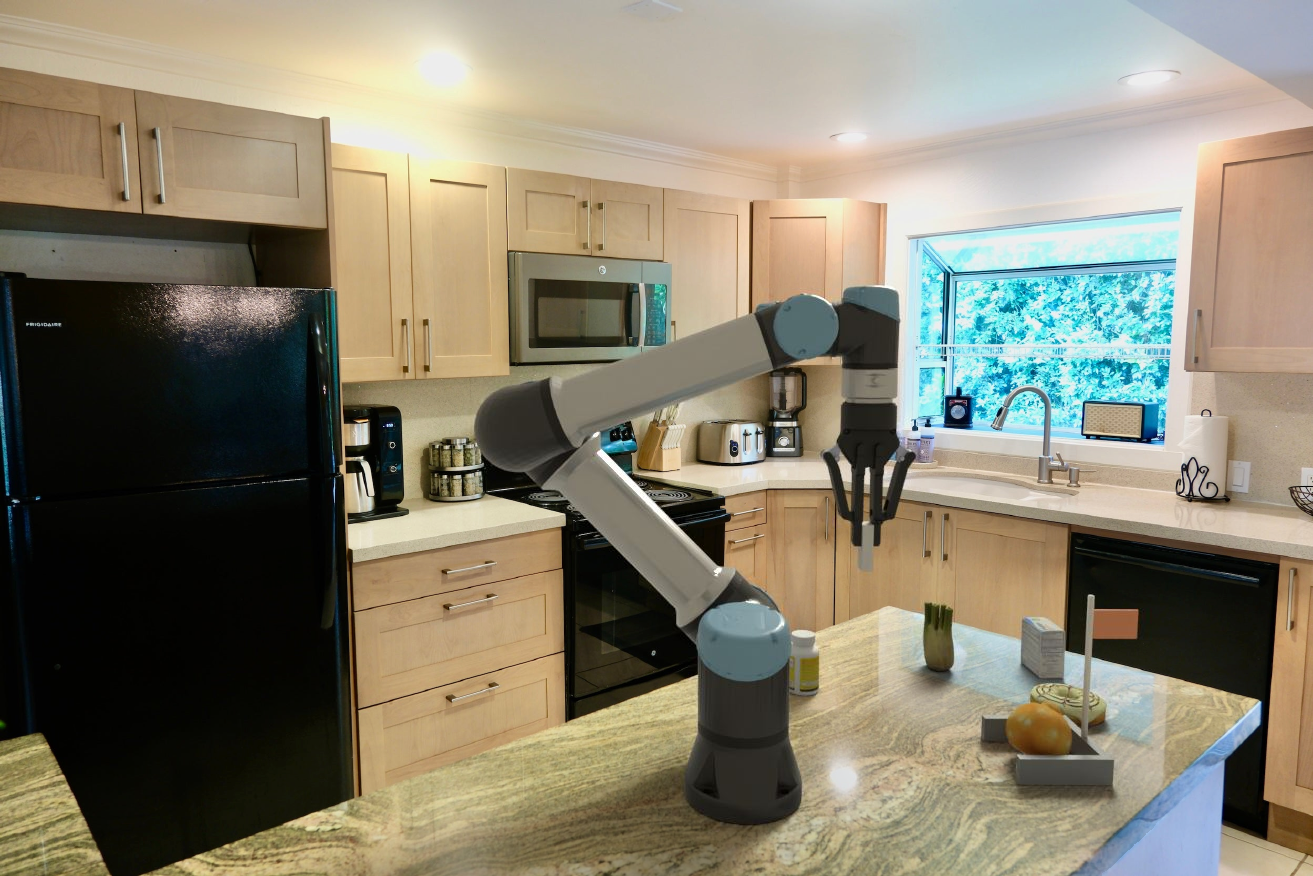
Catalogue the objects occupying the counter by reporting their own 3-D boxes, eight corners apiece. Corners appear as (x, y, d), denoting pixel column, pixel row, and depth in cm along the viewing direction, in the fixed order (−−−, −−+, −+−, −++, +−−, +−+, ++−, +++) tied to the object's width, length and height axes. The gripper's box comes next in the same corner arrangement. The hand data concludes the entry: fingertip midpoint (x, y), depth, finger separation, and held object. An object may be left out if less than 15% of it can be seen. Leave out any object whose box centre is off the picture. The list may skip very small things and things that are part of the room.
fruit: (1043, 744, 120) (1045, 691, 119) (1084, 772, 112) (1087, 715, 112) (993, 751, 118) (995, 697, 118) (1031, 779, 111) (1034, 721, 110)
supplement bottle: (823, 688, 141) (824, 632, 140) (811, 699, 136) (812, 641, 135) (793, 681, 144) (794, 626, 143) (781, 692, 139) (781, 635, 138)
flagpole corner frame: (1019, 784, 109) (1026, 610, 107) (981, 737, 122) (987, 582, 120) (1157, 785, 109) (1168, 610, 106) (1104, 738, 122) (1112, 582, 120)
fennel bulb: (918, 663, 152) (920, 599, 151) (944, 661, 153) (946, 598, 151) (932, 675, 146) (934, 608, 145) (959, 673, 147) (961, 607, 146)
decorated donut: (1100, 736, 123) (1101, 712, 123) (1022, 718, 129) (1023, 695, 129) (1110, 712, 131) (1111, 689, 131) (1037, 696, 138) (1038, 674, 137)
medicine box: (1064, 679, 144) (1066, 631, 143) (1038, 679, 144) (1040, 631, 143) (1044, 662, 152) (1046, 616, 151) (1019, 662, 152) (1021, 616, 151)
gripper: (826, 402, 110) (823, 576, 113) (925, 402, 110) (919, 576, 112) (816, 399, 118) (813, 562, 120) (908, 399, 118) (904, 562, 120)
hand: (865, 568), depth 116 cm, fingers closed
